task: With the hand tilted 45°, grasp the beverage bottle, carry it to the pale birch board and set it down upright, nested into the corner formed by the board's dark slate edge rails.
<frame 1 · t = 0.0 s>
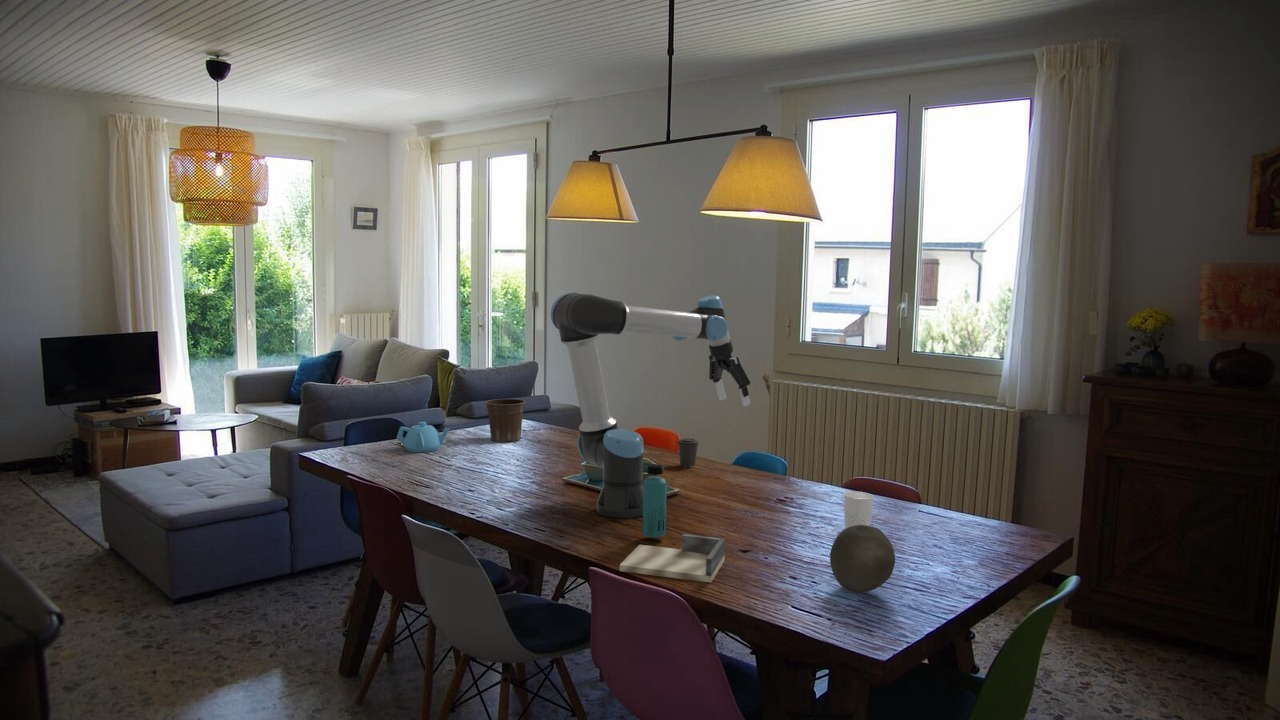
hand: (734, 402, 283), 28 cm above the table, tool tilted 20°, fingers open, 13 cm apart
teapot: (423, 450, 331), on the table
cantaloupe: (860, 592, 191), on the table
beverage bottle: (653, 539, 225), on the table
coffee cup: (687, 466, 312), on the table
white cup: (857, 530, 237), on the table
corner board: (673, 565, 205), on the table
plant pot: (505, 440, 352), on the table
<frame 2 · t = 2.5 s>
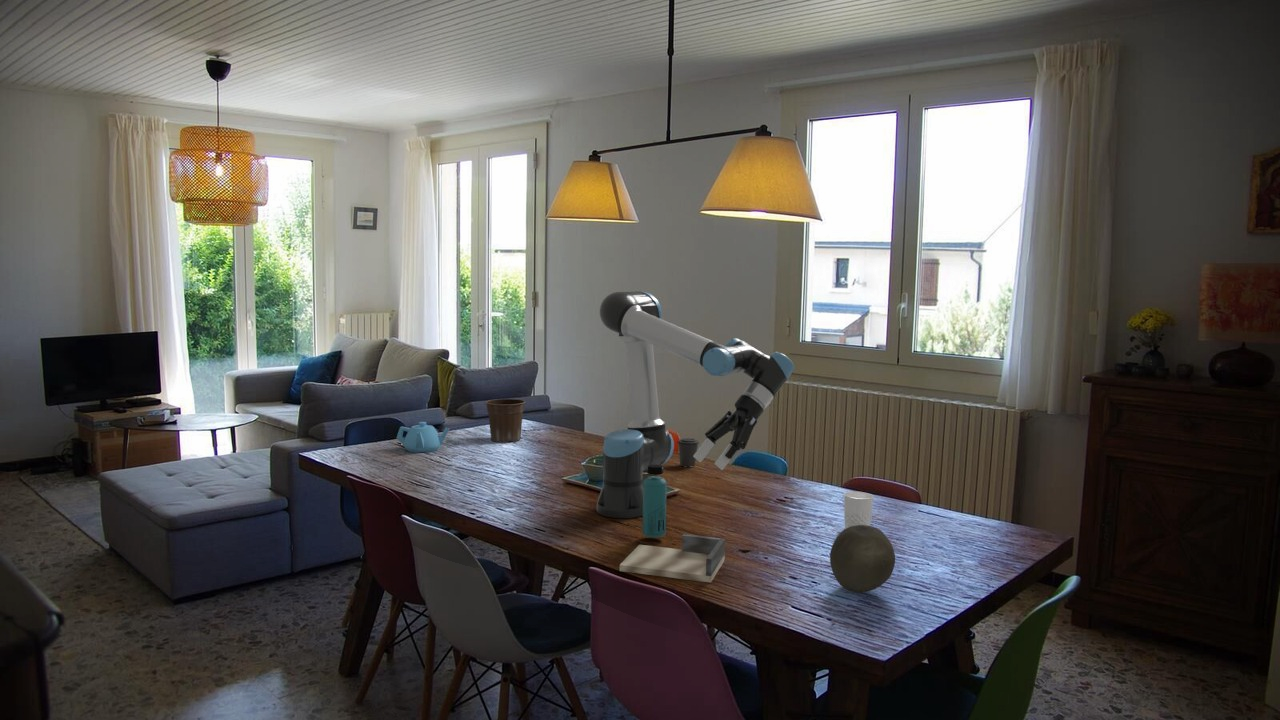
hand: (707, 463, 229), 19 cm above the table, tool tilted 40°, fingers open, 13 cm apart
nothing on the table moved.
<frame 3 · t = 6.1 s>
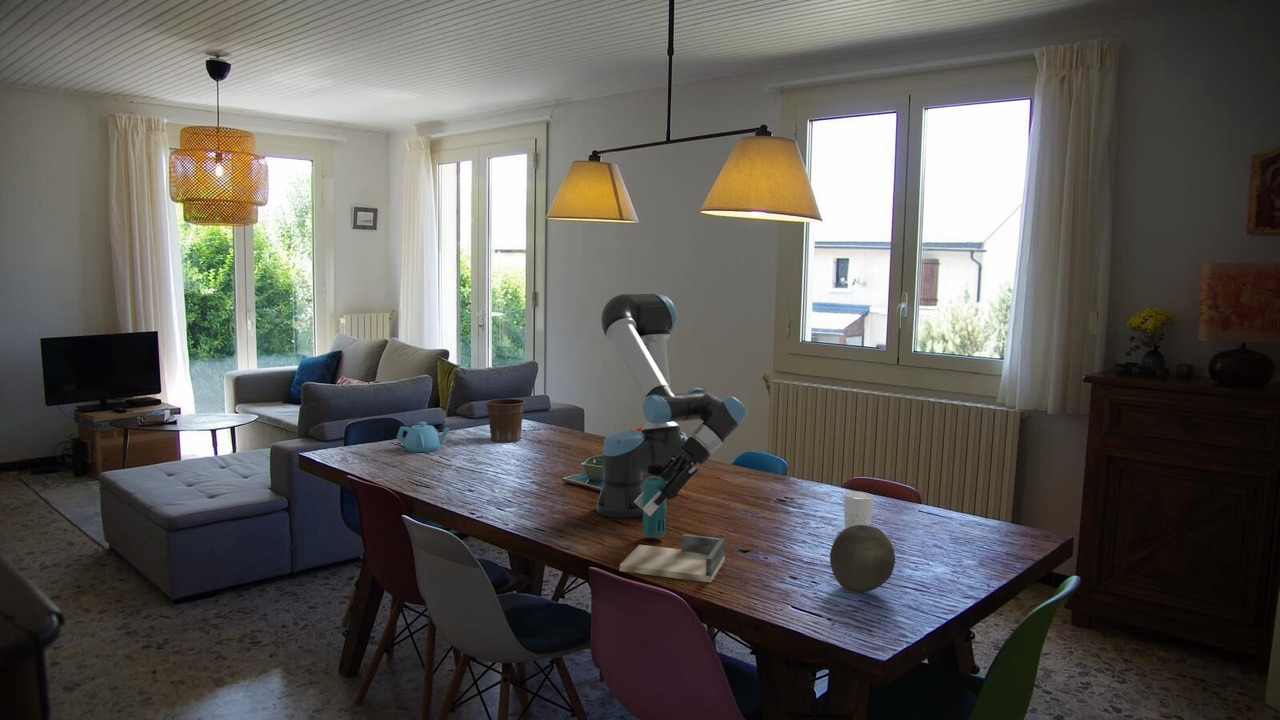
hand: (641, 508, 223), 8 cm above the table, tool tilted 45°, fingers closed on beverage bottle, 6 cm apart
beverage bottle: (653, 539, 225), on the table, touching gripper
everything else where it was.
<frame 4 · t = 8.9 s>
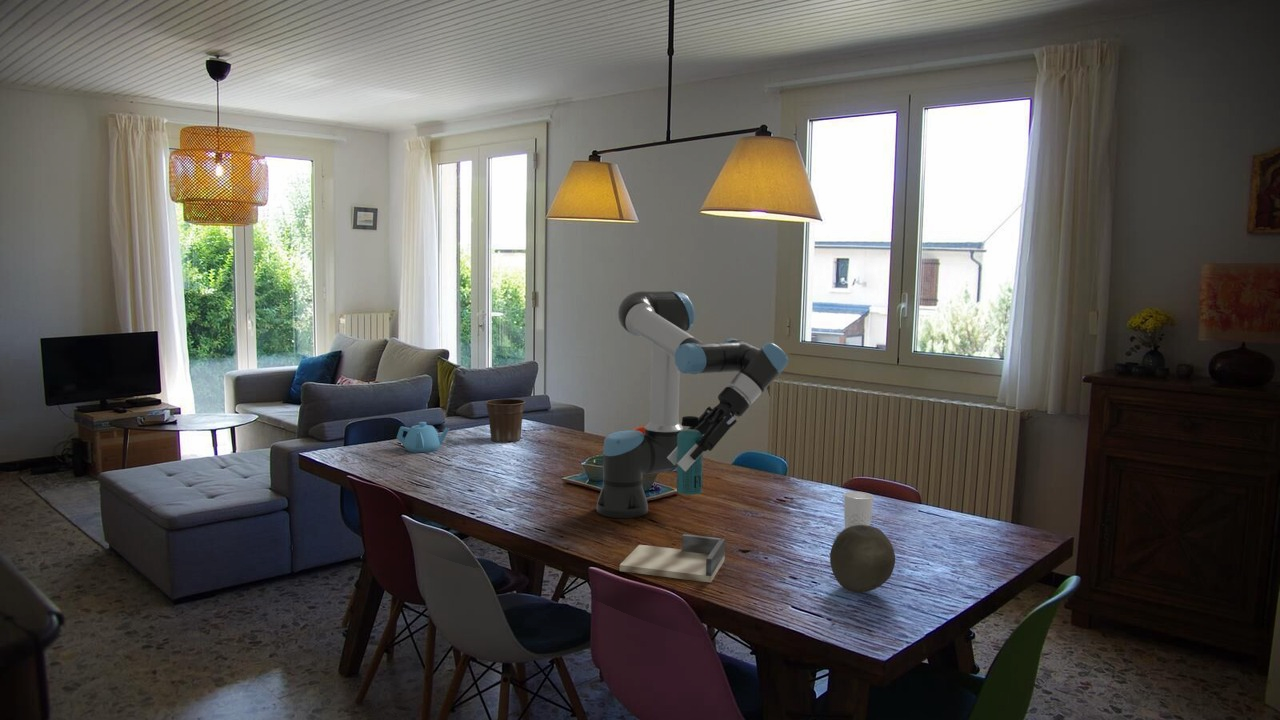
hand: (676, 464, 206), 24 cm above the table, tool tilted 45°, fingers closed on beverage bottle, 6 cm apart
beverage bottle: (689, 498, 208), point 16 cm above the table, touching gripper
everything else where it was.
when the fingers open (11 cm above the table, at t = 12.1 s): beverage bottle drops 1 cm, resting on corner board.
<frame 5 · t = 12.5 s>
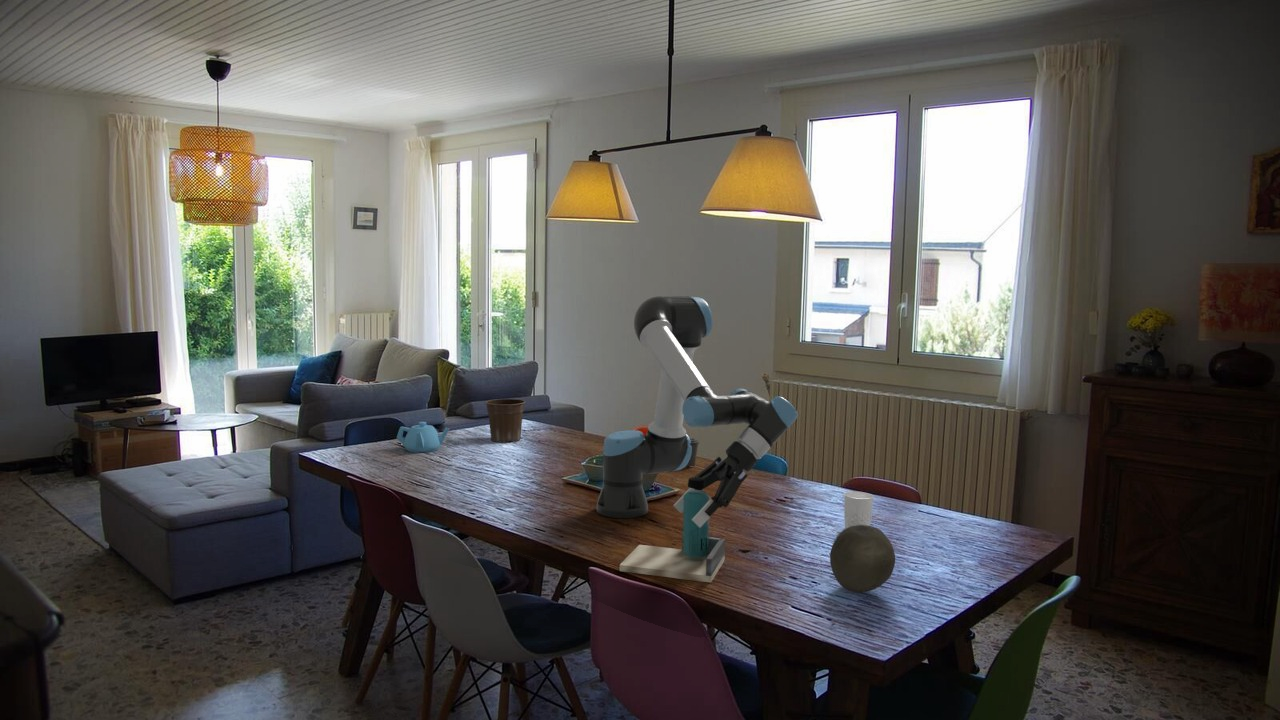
hand: (686, 516, 204), 12 cm above the table, tool tilted 45°, fingers open, 11 cm apart
beverage bottle: (695, 559, 206), point 1 cm above the table, touching corner board
everything else where it was.
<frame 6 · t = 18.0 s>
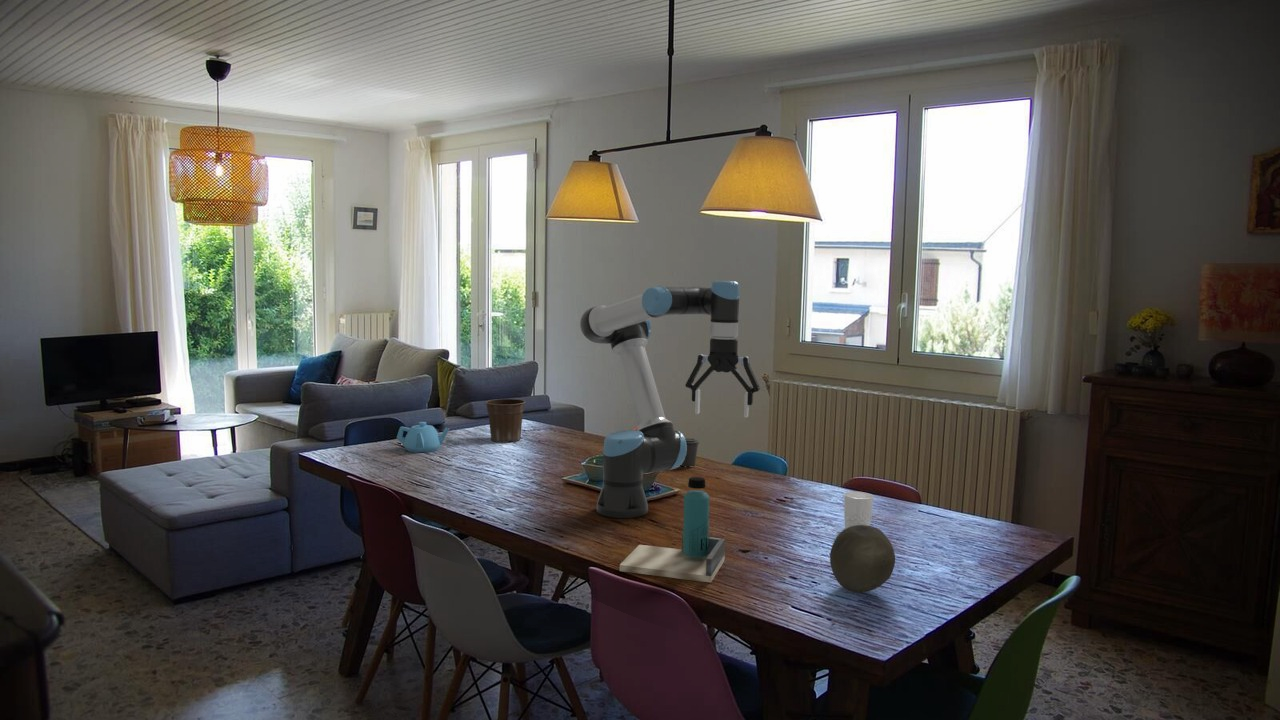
hand: (721, 415, 233), 32 cm above the table, tool pointing down, fingers open, 13 cm apart
nothing on the table moved.
at the end: beverage bottle 0.4 cm from the target spot on the corner board, point 1.3 cm above the corner board's base; beverage bottle tilted 0°; the gripper is holding nothing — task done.
